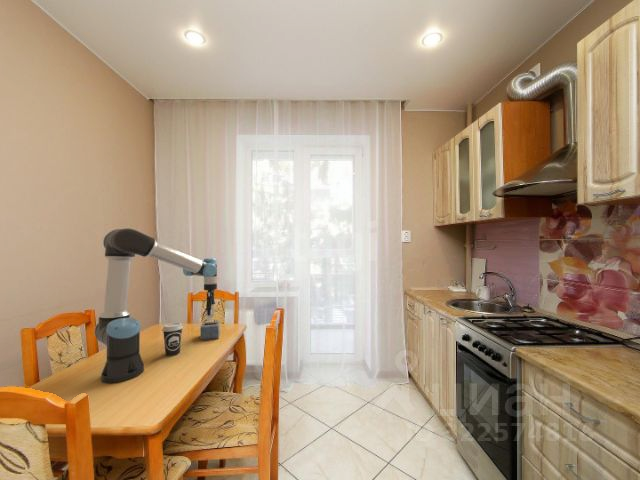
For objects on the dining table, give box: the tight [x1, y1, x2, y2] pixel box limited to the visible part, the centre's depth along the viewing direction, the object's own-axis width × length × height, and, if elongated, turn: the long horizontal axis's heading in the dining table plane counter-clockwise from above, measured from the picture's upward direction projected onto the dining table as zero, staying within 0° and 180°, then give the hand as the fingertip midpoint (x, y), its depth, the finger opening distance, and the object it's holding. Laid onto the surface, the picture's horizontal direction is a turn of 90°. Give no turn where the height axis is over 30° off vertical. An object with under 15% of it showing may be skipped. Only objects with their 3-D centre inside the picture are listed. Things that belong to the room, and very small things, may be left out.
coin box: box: [199, 320, 221, 341], centre depth 163 cm, size 10×10×8 cm
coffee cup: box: [161, 321, 184, 357], centre depth 139 cm, size 10×10×15 cm
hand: (210, 317), depth 163 cm, fingers open, 13 cm apart
